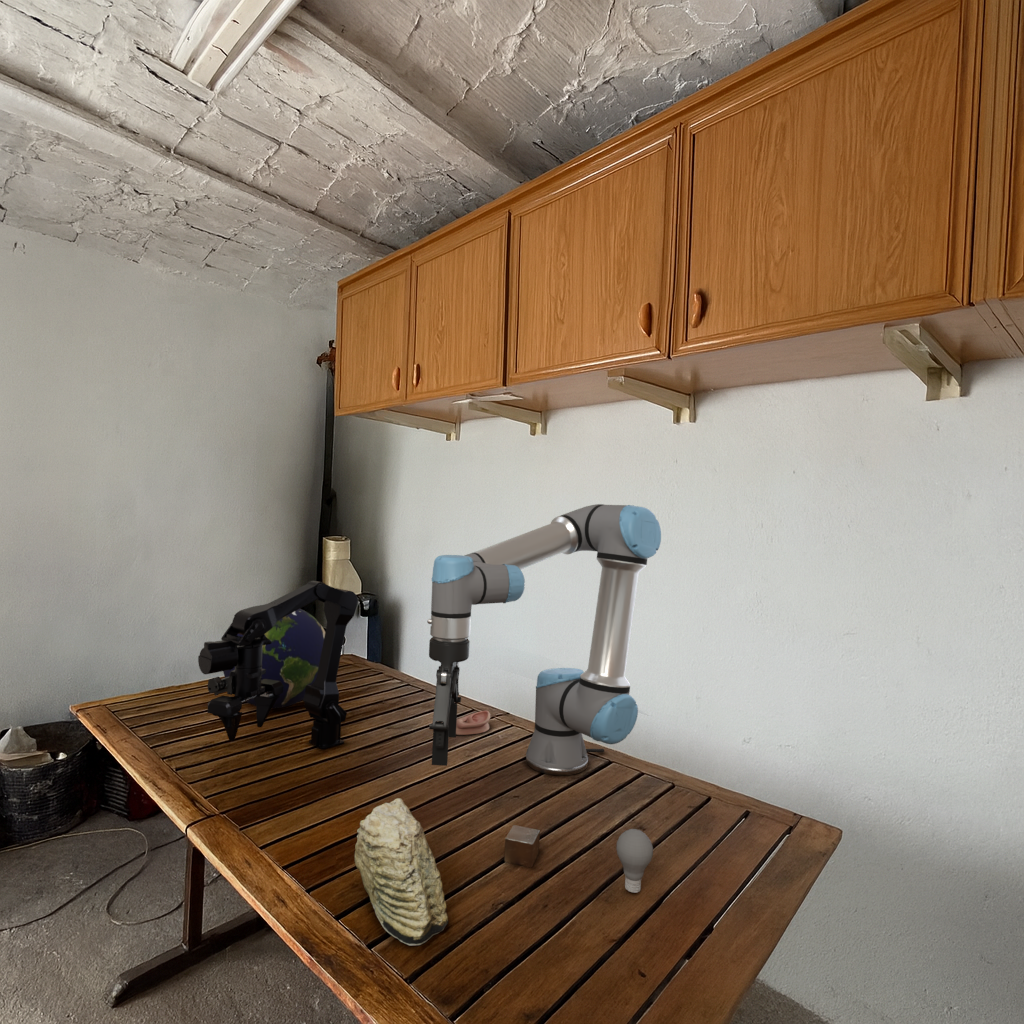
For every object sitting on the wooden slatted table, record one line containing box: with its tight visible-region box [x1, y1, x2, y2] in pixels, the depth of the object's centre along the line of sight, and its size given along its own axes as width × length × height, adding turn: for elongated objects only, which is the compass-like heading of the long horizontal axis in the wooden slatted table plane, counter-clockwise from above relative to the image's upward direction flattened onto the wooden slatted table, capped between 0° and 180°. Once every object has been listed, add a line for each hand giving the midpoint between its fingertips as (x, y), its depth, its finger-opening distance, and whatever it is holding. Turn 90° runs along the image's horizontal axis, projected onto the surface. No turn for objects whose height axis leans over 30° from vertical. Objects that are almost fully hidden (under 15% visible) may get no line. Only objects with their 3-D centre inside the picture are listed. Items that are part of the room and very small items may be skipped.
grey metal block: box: [503, 824, 541, 868], centre depth 114 cm, size 5×5×4 cm
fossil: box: [354, 797, 449, 947], centre depth 98 cm, size 9×18×15 cm, turn 46°
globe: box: [222, 608, 326, 710], centre depth 188 cm, size 30×30×30 cm
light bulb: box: [615, 828, 654, 894], centre depth 106 cm, size 6×6×10 cm
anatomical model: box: [456, 709, 491, 736], centre depth 177 cm, size 13×4×12 cm
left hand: (246, 733), depth 145 cm, fingers open, 9 cm apart
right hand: (444, 749), depth 119 cm, fingers open, 13 cm apart
